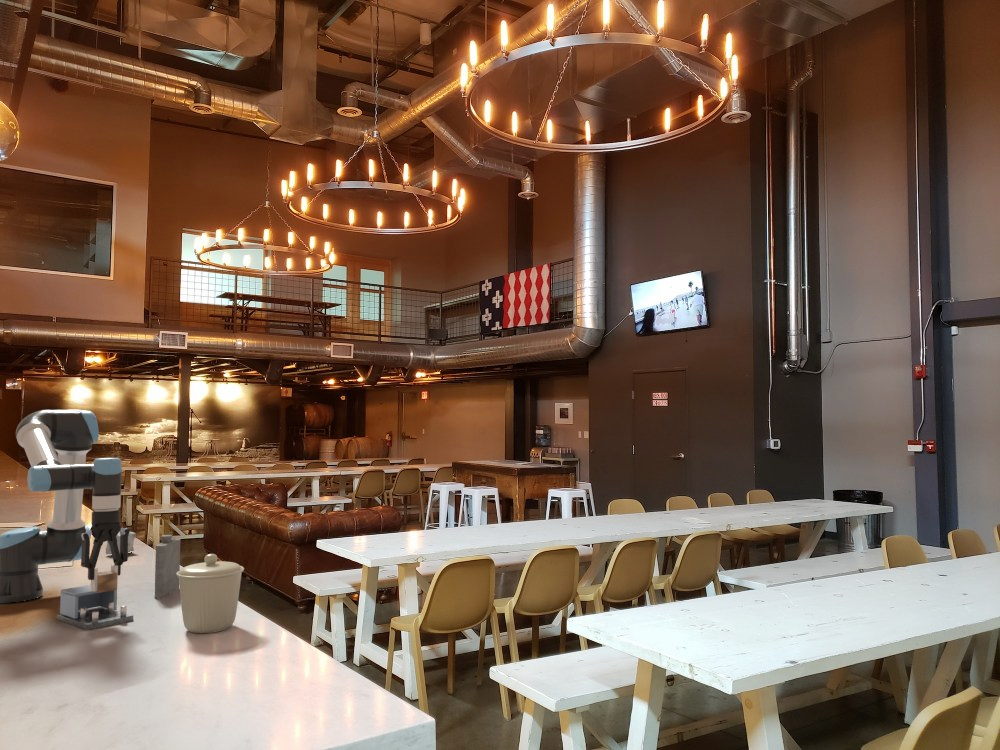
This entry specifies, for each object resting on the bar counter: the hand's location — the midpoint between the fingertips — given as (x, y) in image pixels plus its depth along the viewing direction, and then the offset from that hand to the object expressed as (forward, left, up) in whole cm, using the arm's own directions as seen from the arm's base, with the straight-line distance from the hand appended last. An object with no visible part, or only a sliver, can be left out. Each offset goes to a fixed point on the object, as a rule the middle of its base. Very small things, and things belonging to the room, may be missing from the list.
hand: (104, 588), depth 216 cm
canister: (+32, +15, -10) cm, 37 cm away
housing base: (-5, 0, -10) cm, 11 cm away
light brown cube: (0, 0, 0) cm, 0 cm away
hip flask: (-22, +31, -10) cm, 39 cm away
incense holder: (-114, +59, -10) cm, 129 cm away
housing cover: (-10, 0, -8) cm, 13 cm away
